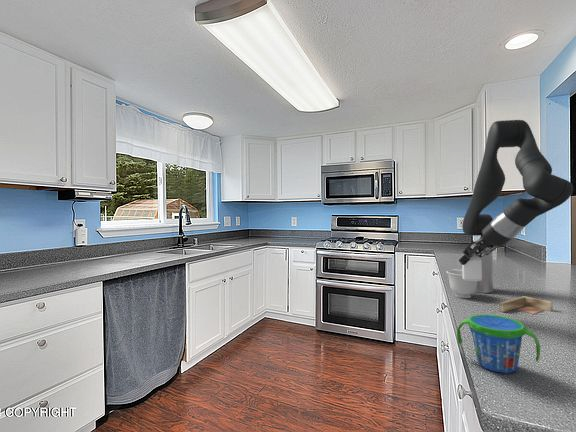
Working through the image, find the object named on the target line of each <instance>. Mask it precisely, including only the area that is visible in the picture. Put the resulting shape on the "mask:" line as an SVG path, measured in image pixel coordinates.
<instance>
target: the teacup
mask: <svg viewBox="0 0 576 432" xmlns="http://www.w3.org/2000/svg"><path fill="white" fill-rule="evenodd" d="M446 274H447V276H448V280H449V281H448V282H449V286H450V289H451V291H452V292H453V293H455V297H456V298H461V299H470V298H472V294H474V293H476V292H475V291H476V287H477V281H466V280H464V279H463V277H462V268H459V269H458V268H453V269H448V270H446Z"/></svg>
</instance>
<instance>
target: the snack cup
mask: <svg viewBox="0 0 576 432" xmlns="http://www.w3.org/2000/svg"><path fill="white" fill-rule="evenodd" d="M464 324H467V325H468V327H469V329H470V333H471V336H472V340H473V345H474V352H475V355H476V359H477V361H478V363H479V364H480V365H481V366H482V367H483V368H485V369H487V370H489V371H492V372H497V373H503V374H510V373H513V372H515V371H518V367H519V360H520V355H521V354H520V353H521V350H522V349H521V348H522V340H523V339H522V338H523V336H525V335H527V336H529V337H532V338H533V340H534V343H535V347H536V348H535V349H536V356H535V361H536V362H539V359H540V355H541V345H540V341H539V339H538V337H537V336H536V334H535V333H534V332H533V331H531V329H529V328H527V327H525V325H524V324H523V323H522V322H520V321H518V320H516V319H513V318H509V317H506V316H500V315H494V314H475V315H472V316H470V317H469V318H466V319H464V320H462V321H461V322H460V323H459V325H458V327H457V331H456V340H457V343H458V344H459V345H461V344H462V342H463V339H462V334H461V328H462V326H464Z"/></svg>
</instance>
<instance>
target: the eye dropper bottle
mask: <svg viewBox="0 0 576 432" xmlns="http://www.w3.org/2000/svg"><path fill="white" fill-rule="evenodd" d="M469 253H470V252H469ZM461 265H462V264H461ZM461 269H462V277H463V279H464V280H466V281H481V280H482V260H481V258H480V257H478V256H474V257H473V258H472V259H471V260H469V261H468V262H467V263H466V264H465V265H462V268H461Z"/></svg>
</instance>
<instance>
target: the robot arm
mask: <svg viewBox="0 0 576 432" xmlns="http://www.w3.org/2000/svg"><path fill="white" fill-rule="evenodd" d="M485 142H486V143H485V148H484V153H483V157H482V161H481V166H480V168H479V171H478V175H477V177H476V181H475V185H474V188H473V193H472V196H471V199H470V202H469V205H468V208H467V209H466V212H465V215H464V216H463V219H462V225H461V226H462V232H463V234H465V235H466V236H480V237H479V239H478V240H476V241H471V242H470V243H468V244H467V246H466V248H465V249H464V250H463V251H462V253H463V254H464V255H462V256H461V257H460V258H459V259H458V262H459V263H460V264H461V265H465V264H466V263H467V262H468V261H469V260H471V259H472V258H473V257H474V256H478V257H480V258H481V260H482V280H481V281H477V287H476V291H475V292H474V293H482V294H483V293H485V294H486V293H487V294H489V293H493V292H494V272H493V271H494V269H493V268H494V266H493V265H494V264H493V263H494V261H493V252H494V251H495V250H496V249H498V248H499V247H500V248H502V247H505V246H506V245H507V244H508V243H509V242H510V241H511V240H513V239H514V238H515V237H516V236H517V235H519V234H520V233H521V232H522V231H523V229H525V227H527V226H528V225H529V224H530V223H531V222H532V221H534V219H536V218H537V217H539V216H541V215H543V214H545V213H547V212H549V211H551V210H553V209H555V208H557V207H560V205H563V204H564V203H565V202H566V201H568V199H570V198H571V196H572V195H573V193H574V192H573V191H574V185H573V183H571V182H570V181H569V180H567V179H565V178H561V177H560V176H556V175H555V174H552V171H553V168H552V165H551V164H550V162H549V161H548V160H547V158H546V157H545V156H544V155H543V154H542V152H541V151H540V149H539V147H538V144H537V142H536V137H535V136H534V134H533V130H532V129H531V126H530V125H529V123H528V122H526V121H525V120H523V119H510V120H507V119H506V120H496V121H494V122H493V123H492V124H491V125H490V127H489V129H488V133H487V137H486V141H485ZM515 147H516V148H518V149H519V150H518V152H517V153H516V155H515V157H514V164H515V167H516V169H517V170H518V172H519V174H520V175H521V176H522V186H523V190H524V191H525V192H526V193H527V194H528V195H529V196H531V197H532V198H524V197H523V198H522V197H521V198H520V197H519V198H517V199H515V200H514V201H512V202H511V203H510V204H509V205H508V206H507V207H506V208H505V209H504V210H503V211H502V212H500V213H499V214H498V215H496V216H495V218H493V216H491V215H490V214H485V213H483V214H482V212H483V211H484V209H485V208H487V207H489V206H490V204H492V203H493V202H495V200H496V199H498V197H499V196H500V195H501V193H502V191H503V187H504V185H505V182H506V175H505V173H504V170H503V168H502V166H501V165H500V163H499V160H498V153H499V149H500V148H515ZM469 252H470V253H469Z"/></svg>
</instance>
